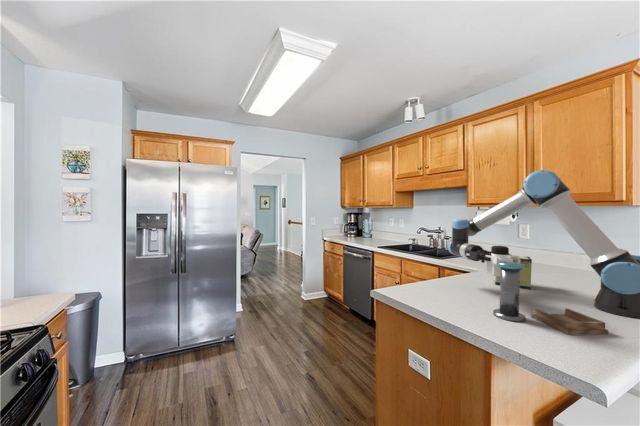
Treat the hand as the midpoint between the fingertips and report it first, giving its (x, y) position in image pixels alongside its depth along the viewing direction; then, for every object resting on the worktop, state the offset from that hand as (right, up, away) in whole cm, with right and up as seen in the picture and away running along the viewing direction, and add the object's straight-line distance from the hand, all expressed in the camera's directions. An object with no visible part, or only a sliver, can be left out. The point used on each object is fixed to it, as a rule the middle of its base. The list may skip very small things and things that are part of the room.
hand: (508, 261), depth 109 cm
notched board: (+11, -20, -14) cm, 27 cm away
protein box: (+28, -20, +38) cm, 51 cm away
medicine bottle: (-1, -7, +5) cm, 8 cm away
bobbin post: (-5, -20, -7) cm, 21 cm away
